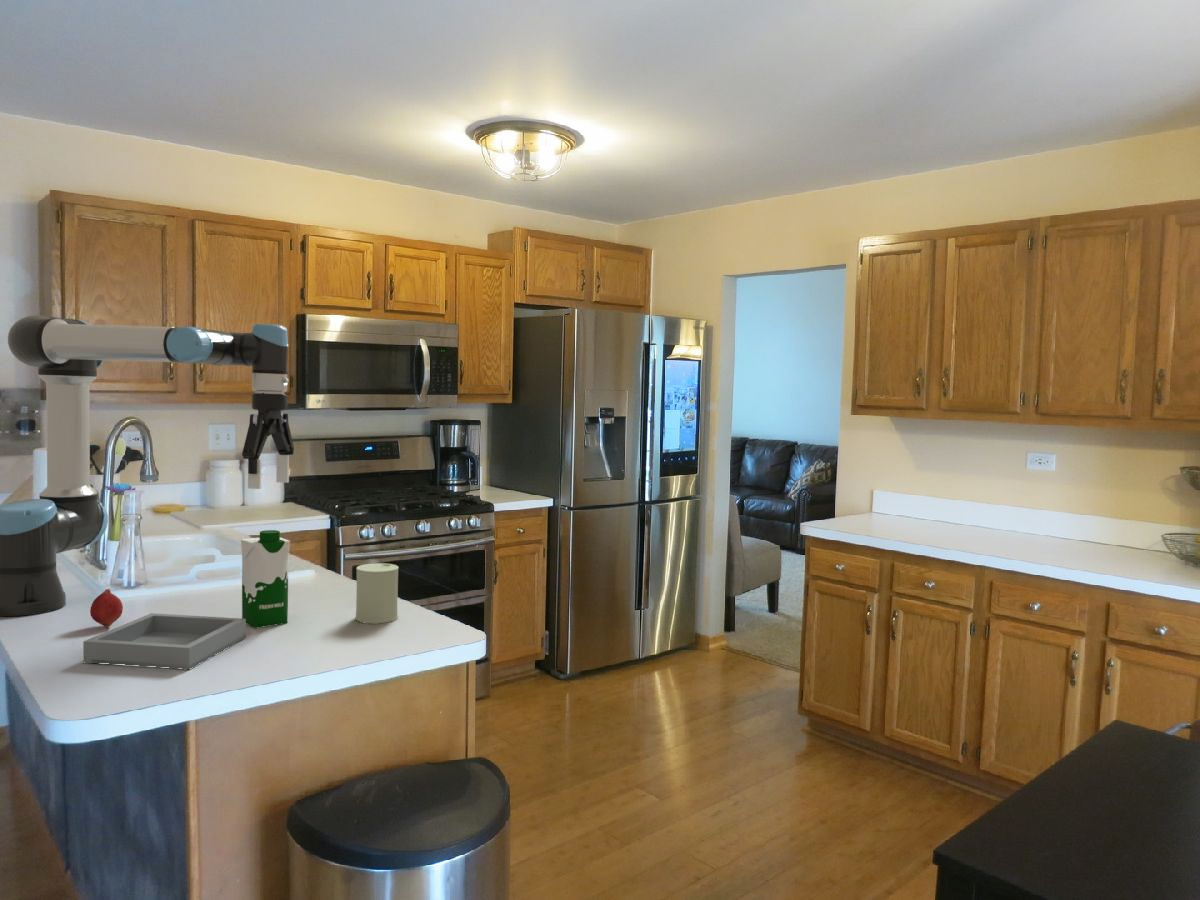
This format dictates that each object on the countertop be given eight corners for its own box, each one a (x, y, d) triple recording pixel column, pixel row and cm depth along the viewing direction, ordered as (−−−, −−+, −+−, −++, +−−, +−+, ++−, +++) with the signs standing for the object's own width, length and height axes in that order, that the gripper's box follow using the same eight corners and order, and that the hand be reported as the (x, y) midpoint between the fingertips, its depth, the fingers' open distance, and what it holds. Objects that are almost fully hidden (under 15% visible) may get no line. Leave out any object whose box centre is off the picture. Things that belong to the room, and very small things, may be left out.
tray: (83, 663, 153) (83, 641, 153) (151, 632, 173) (151, 613, 173) (189, 670, 151) (189, 647, 151) (245, 638, 171) (245, 618, 171)
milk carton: (252, 630, 177) (253, 535, 176) (235, 620, 184) (236, 529, 182) (293, 623, 183) (294, 531, 182) (275, 614, 190) (276, 525, 188)
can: (406, 616, 192) (407, 564, 191) (379, 626, 183) (380, 571, 183) (374, 610, 196) (374, 559, 195) (346, 620, 187) (347, 566, 186)
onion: (89, 631, 172) (89, 593, 172) (91, 624, 177) (91, 586, 177) (122, 629, 175) (122, 590, 174) (123, 622, 180) (123, 584, 179)
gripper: (259, 393, 181) (258, 492, 183) (309, 393, 206) (308, 480, 207) (225, 391, 182) (224, 490, 183) (279, 392, 207) (278, 479, 208)
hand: (269, 485), depth 195 cm, fingers open, 13 cm apart
